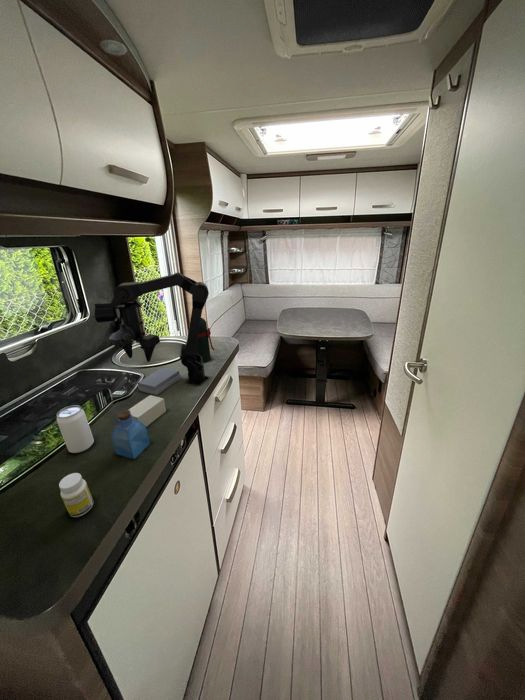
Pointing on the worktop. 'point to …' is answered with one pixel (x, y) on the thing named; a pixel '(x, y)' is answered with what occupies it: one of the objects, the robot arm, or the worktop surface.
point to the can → (75, 428)
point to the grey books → (159, 381)
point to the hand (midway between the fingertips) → (139, 359)
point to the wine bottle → (204, 341)
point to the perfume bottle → (129, 436)
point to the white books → (154, 415)
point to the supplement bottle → (76, 495)
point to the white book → (146, 407)
